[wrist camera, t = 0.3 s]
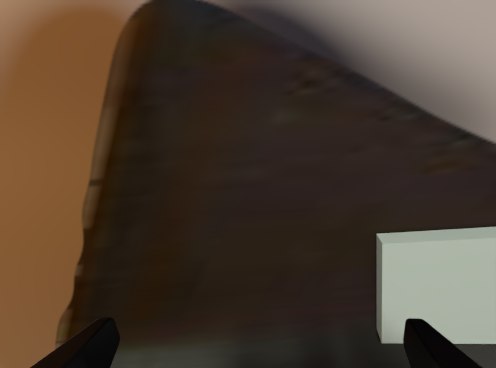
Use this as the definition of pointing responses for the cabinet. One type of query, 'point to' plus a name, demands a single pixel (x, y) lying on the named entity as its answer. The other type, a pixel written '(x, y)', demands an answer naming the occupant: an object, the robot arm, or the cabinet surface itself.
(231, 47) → the cabinet surface
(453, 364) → the robot arm
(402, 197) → the cabinet surface
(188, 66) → the cabinet surface
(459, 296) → the sage board
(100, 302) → the cabinet surface
